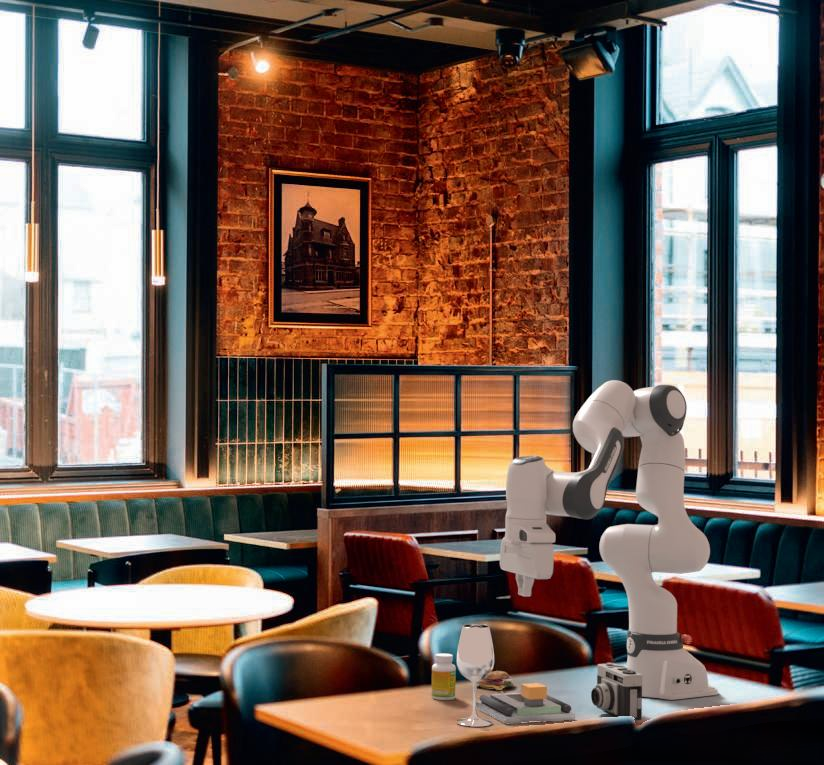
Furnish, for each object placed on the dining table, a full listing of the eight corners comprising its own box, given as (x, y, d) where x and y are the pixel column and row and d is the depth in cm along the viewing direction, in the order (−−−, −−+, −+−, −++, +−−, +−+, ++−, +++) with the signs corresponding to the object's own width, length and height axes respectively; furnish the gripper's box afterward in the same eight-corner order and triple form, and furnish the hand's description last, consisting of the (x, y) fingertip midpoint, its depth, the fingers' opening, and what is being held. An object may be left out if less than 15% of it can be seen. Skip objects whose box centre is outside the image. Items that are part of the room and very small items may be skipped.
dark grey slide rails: (541, 698, 293) (541, 690, 293) (572, 712, 278) (572, 705, 278) (478, 701, 288) (478, 694, 288) (507, 716, 273) (507, 709, 273)
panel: (542, 704, 293) (542, 690, 293) (575, 720, 278) (575, 705, 278) (475, 708, 288) (476, 694, 288) (505, 724, 273) (505, 709, 273)
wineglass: (453, 718, 277) (455, 623, 277) (490, 718, 277) (491, 623, 278) (457, 727, 269) (459, 628, 270) (495, 727, 270) (497, 629, 270)
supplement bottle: (453, 701, 295) (453, 657, 295) (429, 699, 296) (430, 656, 296) (457, 696, 300) (457, 653, 300) (433, 695, 301) (434, 652, 301)
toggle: (538, 707, 281) (538, 683, 281) (546, 711, 277) (546, 686, 278) (521, 708, 280) (521, 683, 280) (528, 712, 276) (529, 687, 276)
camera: (580, 707, 291) (580, 662, 291) (614, 706, 293) (614, 660, 293) (608, 721, 277) (608, 673, 278) (643, 719, 280) (644, 672, 280)
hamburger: (455, 691, 309) (456, 665, 309) (488, 682, 320) (488, 657, 320) (506, 698, 301) (506, 672, 301) (538, 689, 312) (538, 664, 312)
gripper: (493, 527, 294) (492, 590, 293) (531, 535, 274) (530, 602, 274) (519, 527, 296) (518, 589, 295) (559, 535, 277) (558, 601, 276)
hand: (524, 595), depth 285 cm, fingers closed
